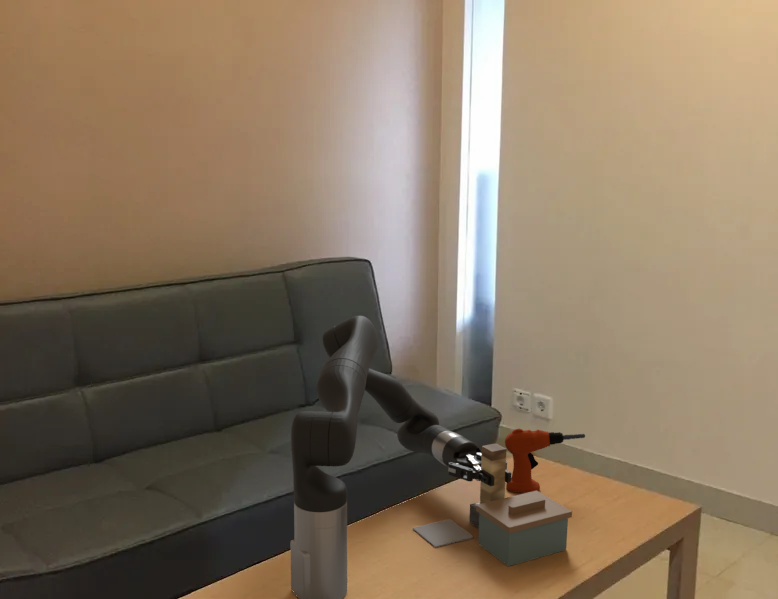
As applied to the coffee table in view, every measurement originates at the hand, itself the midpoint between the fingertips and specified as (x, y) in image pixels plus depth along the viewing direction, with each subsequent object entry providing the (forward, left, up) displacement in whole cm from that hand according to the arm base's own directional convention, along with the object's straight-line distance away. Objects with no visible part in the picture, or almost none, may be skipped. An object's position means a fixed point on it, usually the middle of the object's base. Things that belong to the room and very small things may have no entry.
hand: (501, 479), depth 169 cm
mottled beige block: (0, +3, -10) cm, 10 cm away
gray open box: (0, +3, -11) cm, 12 cm away
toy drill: (+21, +12, -12) cm, 27 cm away
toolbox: (0, -8, -11) cm, 14 cm away
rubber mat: (-11, +4, -11) cm, 16 cm away
